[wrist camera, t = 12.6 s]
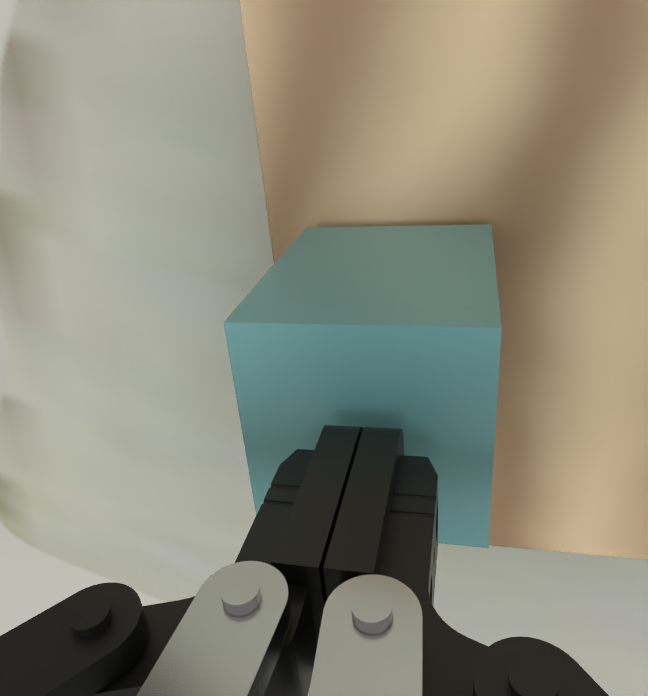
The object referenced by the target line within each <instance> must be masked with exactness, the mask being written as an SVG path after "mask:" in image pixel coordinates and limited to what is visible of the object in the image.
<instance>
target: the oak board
mask: <svg viewBox="0 0 648 696" xmlns="http://www.w3.org/2000/svg"><path fill="white" fill-rule="evenodd" d="M239 1H240V9H241V16H242V24H243V31H244V39H245V47H246V54H247V62H248V69H249V77H250V84H251V92H252V99H253V107H254V115H255V122H256V130H257V137H258V145H259V152H260V160H261V168H262V175H263V183H264V190H265V198H266V205H267V213H268V221H269V228H270V236H271V243H272V251H273V258H274V264H275V263H276V262H277V260H278V259H279V258H280V257H281V256H282V255H283V253H284V252H285V251H286V250H287V249H288V248H289V247H290V245H291V244H292V243H293V242H294V241H295V240H296V238H297V237H298V236H299V235H300V234H301V233H302V231H303V230H304V229H305V228H315V227H370V226H425V225H480V224H491V225H492V235H493V245H494V255H495V265H496V276H497V286H498V296H499V306H500V316H501V326H502V331H501V348H500V364H499V381H498V397H497V414H496V430H495V447H494V463H493V480H492V496H491V513H490V529H489V545H493V546H504V547H515V548H525V549H536V550H547V551H558V552H568V553H579V554H590V555H601V556H611V557H622V558H633V559H644V560H648V0H239Z"/></svg>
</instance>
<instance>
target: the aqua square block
mask: <svg viewBox="0 0 648 696" xmlns="http://www.w3.org/2000/svg"><path fill="white" fill-rule="evenodd" d="M224 327H225V333H226V339H227V344H228V350H229V356H230V362H231V368H232V374H233V380H234V386H235V392H236V397H237V403H238V409H239V415H240V421H241V427H242V433H243V439H244V445H245V450H246V456H247V462H248V468H249V474H250V480H251V486H252V492H253V498H254V503H255V509H256V515H257V513H258V511H259V509H260V507H261V504H263V503H264V498H265V496H266V493H267V491H268V489H269V488H271V482H272V480H273V478H274V476H275V474H276V472H277V469H278V467H279V465H280V464H281V463H282V462H283V461H284V460H285V459H287V458H288V457H289V456H290V455H291V454H292V453H293V452H294V451H296V450H297V449H307V450H315V447H316V445H317V442H318V440H319V437H320V434H321V432H322V429H323V427H324V426H325V425H336V426H356V427H363V428H364V427H378V428H397V429H402V430H403V439H404V455H405V456H422V457H428V458H429V460H430V462H431V464H432V465H433V467H434V469H435V471H436V473H437V475H438V543H445V544H455V545H464V546H474V547H484V548H488V546H489V529H490V513H491V496H492V480H493V463H494V447H495V430H496V414H497V397H498V381H499V364H500V348H501V331H502V326H501V316H500V306H499V296H498V286H497V276H496V265H495V255H494V245H493V235H492V225H491V224H480V225H425V226H370V227H315V228H305V229H304V230H303V231H302V233H301V234H300V235H299V236H298V237H297V238H296V240H295V241H294V242H293V243H292V244H291V245H290V247H289V248H288V249H287V250H286V251H285V252H284V253H283V255H282V256H281V257H280V258H279V259H278V260H277V262H276V263H275V264H274V265H273V266H272V267H271V268H270V270H269V271H268V272H267V273H266V274H265V275H264V277H263V278H262V279H261V280H260V281H259V282H258V283H257V285H256V286H255V287H254V288H253V289H252V290H251V292H250V293H249V294H248V295H247V296H246V297H245V298H244V300H243V301H242V302H241V303H240V304H239V305H238V307H237V308H236V309H235V310H234V311H233V312H232V313H231V315H230V316H229V317H228V318H227V319H226V320H225V322H224Z"/></svg>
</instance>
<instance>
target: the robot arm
mask: <svg viewBox="0 0 648 696" xmlns="http://www.w3.org/2000/svg"><path fill="white" fill-rule="evenodd" d="M437 548H438V475H437V473H436V471H435V469H434V467H433V465H432V464H431V462H430V460H429V458H428V457H422V456H405V455H404V439H403V430H402V429H397V428H378V427H364V428H363V427H356V426H336V425H325V426H324V427H323V429H322V432H321V434H320V437H319V440H318V442H317V445H316V447H315V450H307V449H297V450H296V451H294V452H293V453H292V454H291V455H290V456H289V457H288V458H287V459H285V460H284V461H283V462H282V463H281V464H280V465H279V467H278V469H277V472H276V474H275V476H274V478H273V480H272V482H271V488H269V489H268V491H267V493H266V496H265V498H264V503H263V504H261V507H260V509H259V511H258V513H257V515H256V518H255V520H254V522H253V524H252V526H251V528H250V531H249V533H248V535H247V537H246V539H245V542H244V544H243V546H242V548H241V550H240V553H239V555H238V557H237V559H236V561H235V563H234V564H231V565H228V566H226V567H224V568H222V569H220V570H218V571H217V572H215V573H214V574H213V575H211V576H210V577H209V578H208V579H207V580H206V581H205V582H204V584H203V585H202V586H201V588H200V589H199V591H198V593H197V594H196V596H194V597H191V598H188V599H183V600H178V601H172V602H166V603H161V604H154V605H148V606H142V604H141V601H140V598H139V596H138V594H137V593H136V592H135V591H134V590H133V589H132V588H130V587H129V586H127V585H124V584H120V583H102V584H97V585H93V586H90V587H88V588H85V589H83V590H81V591H79V592H77V593H75V594H74V595H72V596H70V597H68V598H66V599H65V600H63V601H61V602H59V603H58V604H56V605H54V606H52V607H51V608H49V609H47V610H45V611H44V612H42V613H40V614H38V615H37V616H35V617H33V618H31V619H30V620H28V621H26V622H24V623H22V624H21V625H19V626H17V627H16V628H14V629H12V630H10V631H9V632H7V633H5V634H3V635H1V636H0V696H308V692H309V696H609V695H608V694H607V693H606V692H605V691H604V690H603V689H602V688H601V687H600V686H599V685H598V684H597V683H596V682H595V681H594V680H593V679H592V678H591V677H590V676H589V675H588V674H587V673H586V672H585V671H584V669H583V668H582V667H581V666H580V665H579V664H578V663H577V662H576V661H575V660H574V659H572V658H571V657H570V656H569V655H568V654H567V653H565V652H564V651H562V650H561V649H560V648H558V647H556V646H554V645H552V644H550V643H548V642H545V641H542V640H539V639H535V638H530V637H510V638H506V639H502V640H500V641H497V642H495V643H493V644H492V645H491V646H489V647H488V646H486V645H483V644H481V643H479V642H477V641H474V640H472V639H470V638H468V637H466V636H464V635H462V634H460V633H458V632H457V631H455V630H454V629H452V628H451V627H450V626H448V625H447V624H446V623H445V622H444V621H443V620H442V619H441V617H440V616H439V615H438V614H437V612H436V610H435V609H434V607H433V602H434V588H435V575H436V560H437ZM309 688H310V690H309Z"/></svg>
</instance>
